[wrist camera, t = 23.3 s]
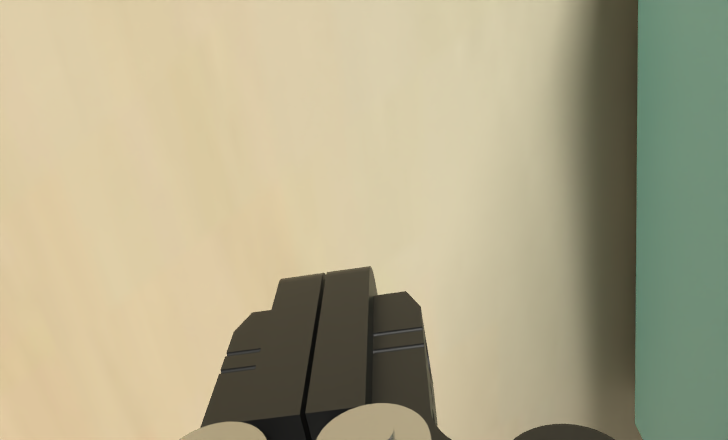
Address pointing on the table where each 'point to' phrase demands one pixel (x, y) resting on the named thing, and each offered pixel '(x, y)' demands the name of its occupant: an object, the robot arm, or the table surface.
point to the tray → (682, 221)
